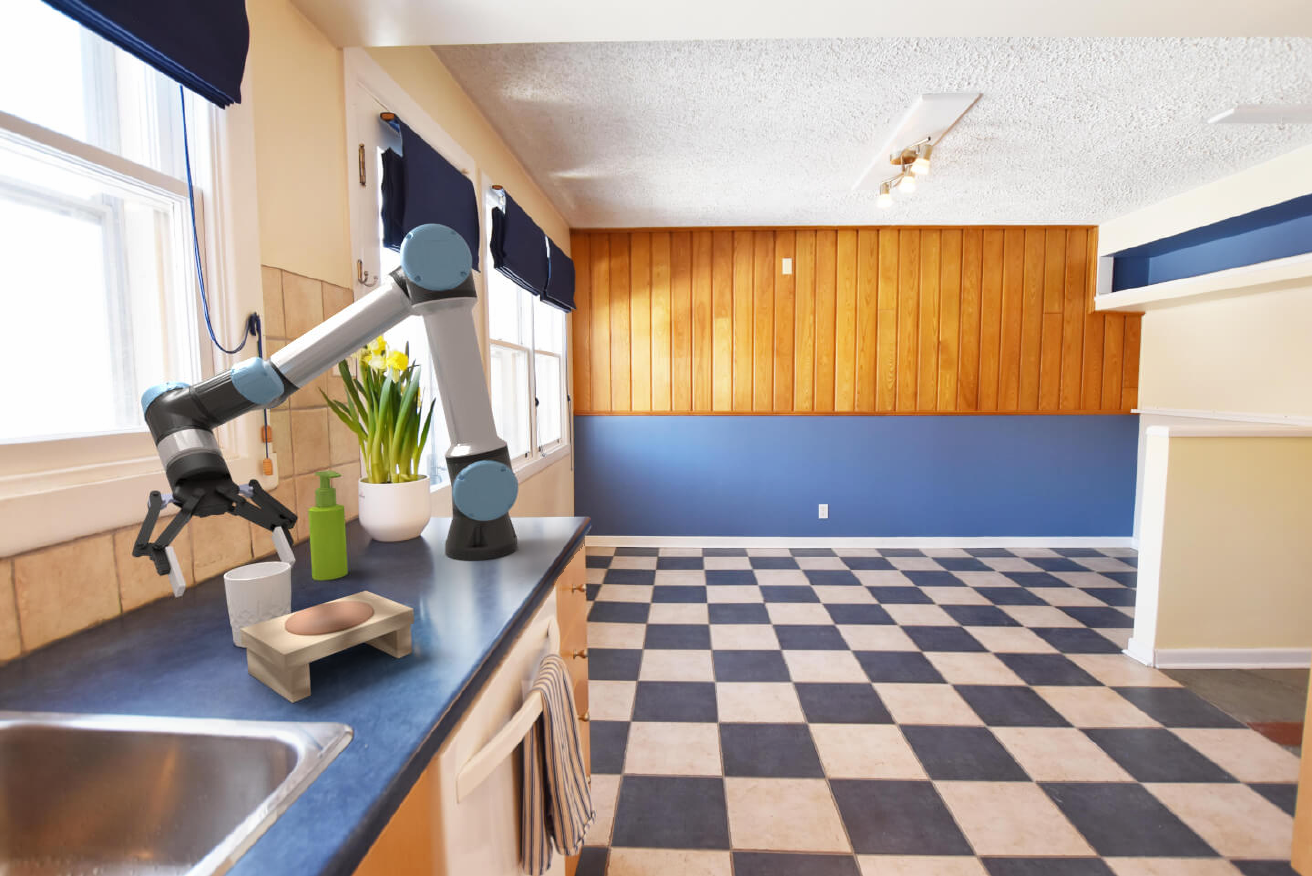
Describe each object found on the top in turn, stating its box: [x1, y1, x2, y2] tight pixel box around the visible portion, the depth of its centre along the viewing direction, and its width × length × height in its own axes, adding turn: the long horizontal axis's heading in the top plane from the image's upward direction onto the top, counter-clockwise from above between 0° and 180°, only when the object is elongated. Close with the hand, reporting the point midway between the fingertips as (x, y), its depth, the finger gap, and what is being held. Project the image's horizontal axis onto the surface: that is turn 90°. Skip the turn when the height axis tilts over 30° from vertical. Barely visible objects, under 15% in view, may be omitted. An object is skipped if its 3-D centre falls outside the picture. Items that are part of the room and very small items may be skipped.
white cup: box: [223, 561, 292, 649], centre depth 83 cm, size 8×8×10 cm
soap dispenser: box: [307, 470, 349, 581], centre depth 109 cm, size 6×7×20 cm
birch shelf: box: [241, 590, 415, 704], centre depth 76 cm, size 16×12×6 cm
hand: (239, 578), depth 84 cm, fingers open, 13 cm apart
